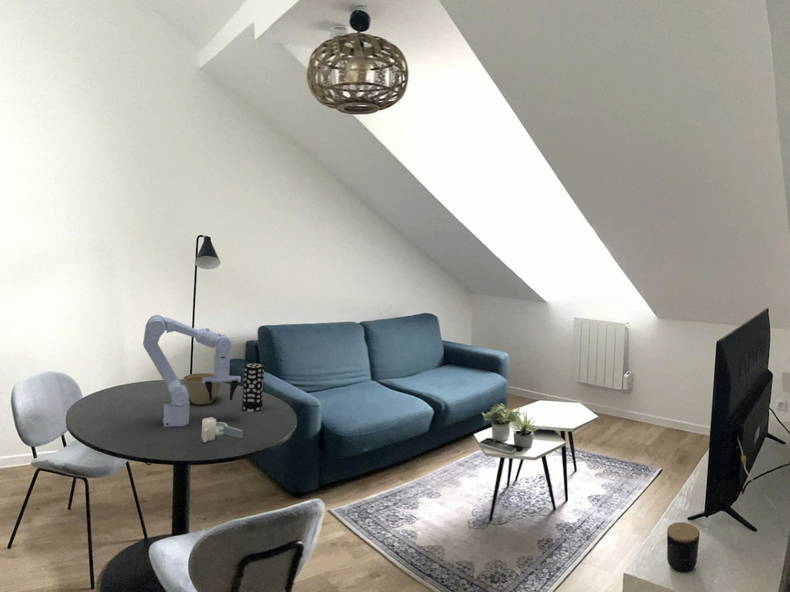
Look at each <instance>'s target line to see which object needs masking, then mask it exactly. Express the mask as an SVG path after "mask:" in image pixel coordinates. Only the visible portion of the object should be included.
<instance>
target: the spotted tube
mask: <svg viewBox="0 0 790 592" xmlns="http://www.w3.org/2000/svg"><path fill="white" fill-rule="evenodd" d="M264 375H265V365H264V364H263V363H255V362H250V363H245V364H244V365H243V379H242V382H243V383H242V385H243V386H242V404H241V411H242V412H248V413H255V412H260V411H263V398H264V381H265V380H264V379H265V377H264Z"/></svg>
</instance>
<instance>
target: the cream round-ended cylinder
mask: <svg viewBox="0 0 790 592" xmlns="http://www.w3.org/2000/svg"><path fill="white" fill-rule="evenodd" d="M201 421H202V422H201V423H202V424H201V437H200V438H201V439H200V440H202V442H203V443H207V442H211V441H214V440H216V436H215V432H216V422H217V419H216V418H215V417H212V416H210V417H204V418H202V420H201Z"/></svg>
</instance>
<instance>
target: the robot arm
mask: <svg viewBox="0 0 790 592" xmlns="http://www.w3.org/2000/svg"><path fill="white" fill-rule="evenodd" d="M144 328H145V329H144V336H143V342H142V345H143V348H144V349H145V351H146V353H147V354H148V356H149V358H150V360H151V361H152V363H153V364H154V366H155V368H156V369H157V371H158V374H160V376H161V379H163V381H164V383H165V384H166V387H167V390H168V391H169V394H170V396H171V397H170V398H171V400H170V401H169V403H165V404H163V418H162V424H163V427H164V428H165V427H166V428H167V427H169V428H170V427H185V426H187V425H189V424H190V423H189V422H190V404H191V402H190V398H189V394H188V388H187V386H186V385H184V383H182V381H181V380H180V379H179V377H178V376H177V375H176V372H175V371H174V369H173V367H172V366H171V364H170V362H169V361H168V359H167V357H166V355H165V354H164V352H163V350H162V349H161V347H160V345H159V343H158V342H159V341H160V337H162V335H163V334H164V333H165V332H166V334H169V333H173V332H176V333H179V334H183V335H185V336H189V337H191V338H195V341H196V343H199V344H201V345H203V346H205V347H209V348H211V349H213V348H214V349H215V354H214V367H213V368H214V369H213V370H214V371H213V374H214V376H211V377H202V383H205V385H206V388H207V390H208V393H209V398H210V401H212V383H214V382H221V383H229V384H230V386H229V388H230V391H229V400H230V401H232V400H233V397H234V393H235V391H236V389H237V387H238V386H239V383H241V380H242V378H241V376H240V375H230V365H231V364H230V363H231V355H230V354H231V351H230V350H231V348H232V343H231V341H230V339H229V338H228V337H227V336H226V335H225V334H222V333H216V332H214V331H211V330H210V328H208V327H207V328H200V329H197V328H194V327H191V326H189V325H187V324H185V323H182V322H180V321H177V320H176V319H172V318H171V317H170V318H169V317H165V316H164V317H163V316H161V315H160V314H159V315H158V314H155V315H152V316H151V317H149V318H148V320H147V323H146V325H145V327H144Z"/></svg>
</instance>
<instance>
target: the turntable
mask: <svg viewBox="0 0 790 592" xmlns="http://www.w3.org/2000/svg"><path fill="white" fill-rule="evenodd" d="M223 435H226V436H228V437H232V438H236V439H239V440H242V439H243V438H244V437H243V436H244V430H243V429H240V428H237V427H232V426H230V425H228V423H226V422H224V421H223V422H222V421H219V422H218V421H216V432H215V437H216V436H218V437H219V436H223Z"/></svg>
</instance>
